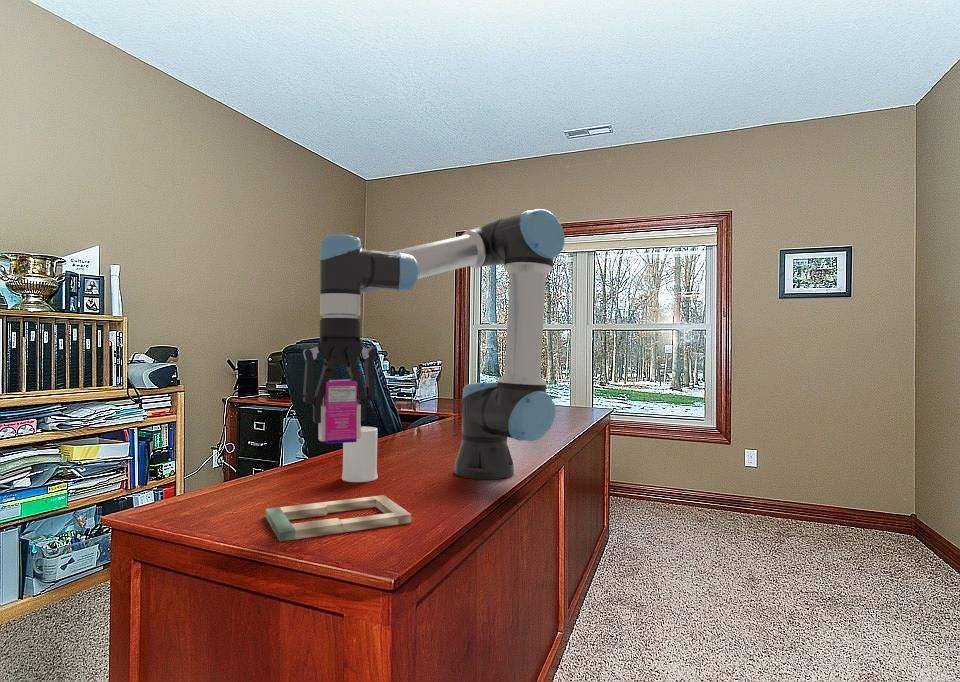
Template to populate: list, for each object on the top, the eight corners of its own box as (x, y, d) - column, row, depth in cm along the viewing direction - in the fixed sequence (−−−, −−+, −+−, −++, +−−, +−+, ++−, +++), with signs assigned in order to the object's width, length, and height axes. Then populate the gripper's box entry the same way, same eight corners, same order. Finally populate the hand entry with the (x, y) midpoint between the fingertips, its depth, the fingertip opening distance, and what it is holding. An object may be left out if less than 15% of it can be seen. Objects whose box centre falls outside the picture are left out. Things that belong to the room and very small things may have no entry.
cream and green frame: (383, 502, 118) (383, 495, 118) (411, 522, 105) (411, 514, 105) (265, 516, 107) (265, 508, 107) (279, 541, 94) (279, 532, 94)
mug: (357, 470, 147) (358, 423, 147) (388, 473, 145) (389, 425, 145) (335, 481, 136) (336, 430, 136) (368, 483, 134) (369, 432, 134)
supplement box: (320, 438, 111) (322, 379, 111) (351, 437, 113) (353, 379, 113) (324, 443, 106) (326, 381, 106) (357, 442, 108) (359, 381, 108)
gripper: (382, 319, 117) (381, 432, 117) (285, 316, 108) (284, 439, 108) (394, 317, 110) (393, 438, 110) (291, 315, 102) (291, 446, 102)
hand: (339, 438), depth 109 cm, fingers closed on supplement box, 6 cm apart
